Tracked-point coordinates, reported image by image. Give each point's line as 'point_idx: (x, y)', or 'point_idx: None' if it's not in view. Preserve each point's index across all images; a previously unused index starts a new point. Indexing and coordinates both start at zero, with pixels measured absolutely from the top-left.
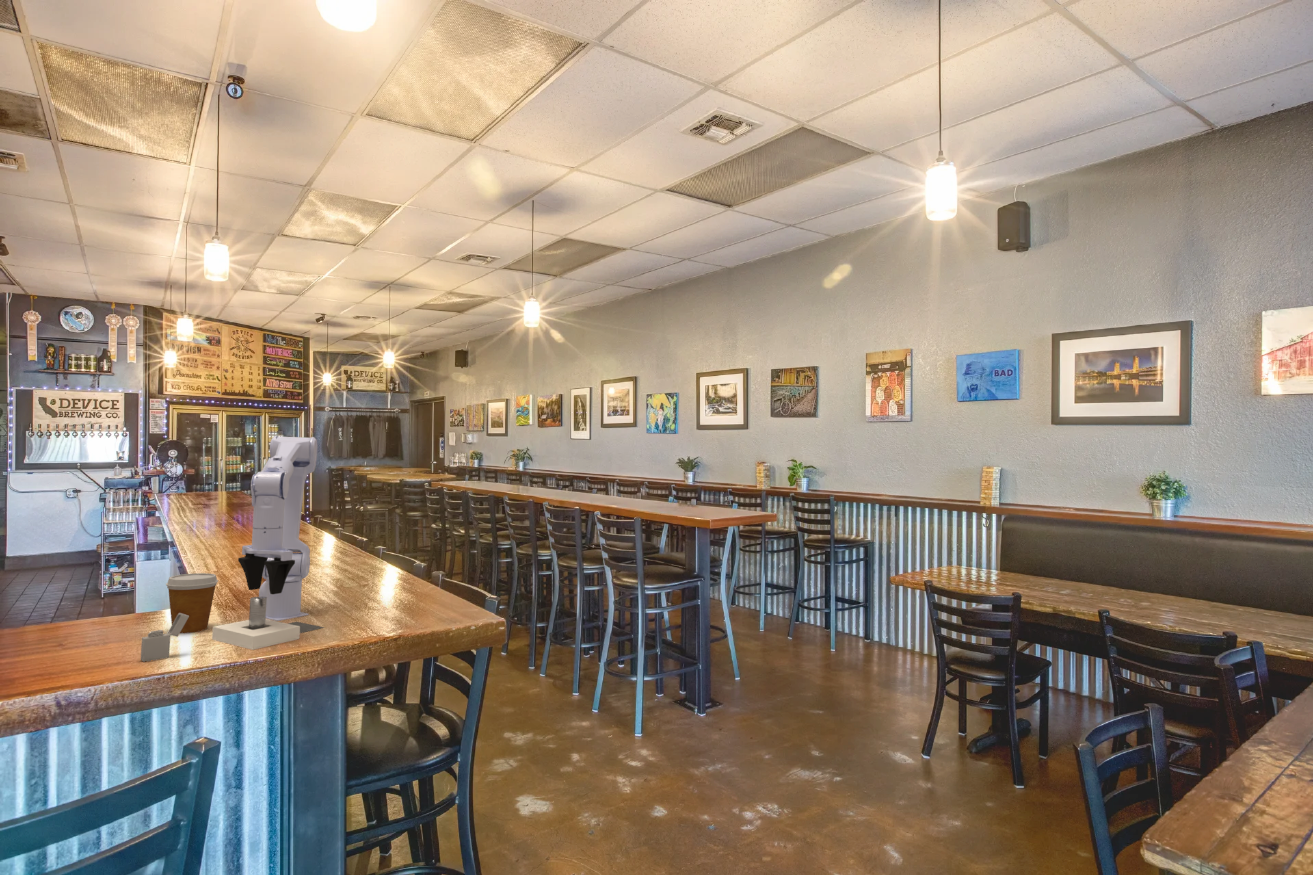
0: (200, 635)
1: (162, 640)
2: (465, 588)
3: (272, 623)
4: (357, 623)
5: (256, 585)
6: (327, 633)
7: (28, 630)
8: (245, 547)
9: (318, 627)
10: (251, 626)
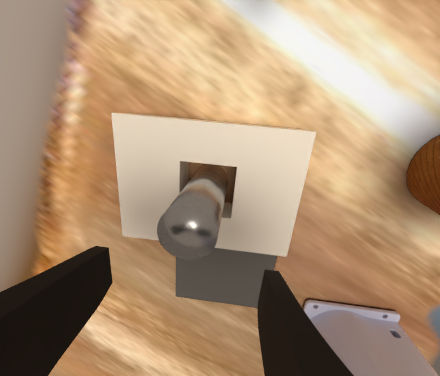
0: (384, 154)
1: None
2: None
3: None
4: (166, 337)
5: (262, 307)
6: (146, 275)
7: None
8: None
9: (185, 292)
10: (201, 174)
